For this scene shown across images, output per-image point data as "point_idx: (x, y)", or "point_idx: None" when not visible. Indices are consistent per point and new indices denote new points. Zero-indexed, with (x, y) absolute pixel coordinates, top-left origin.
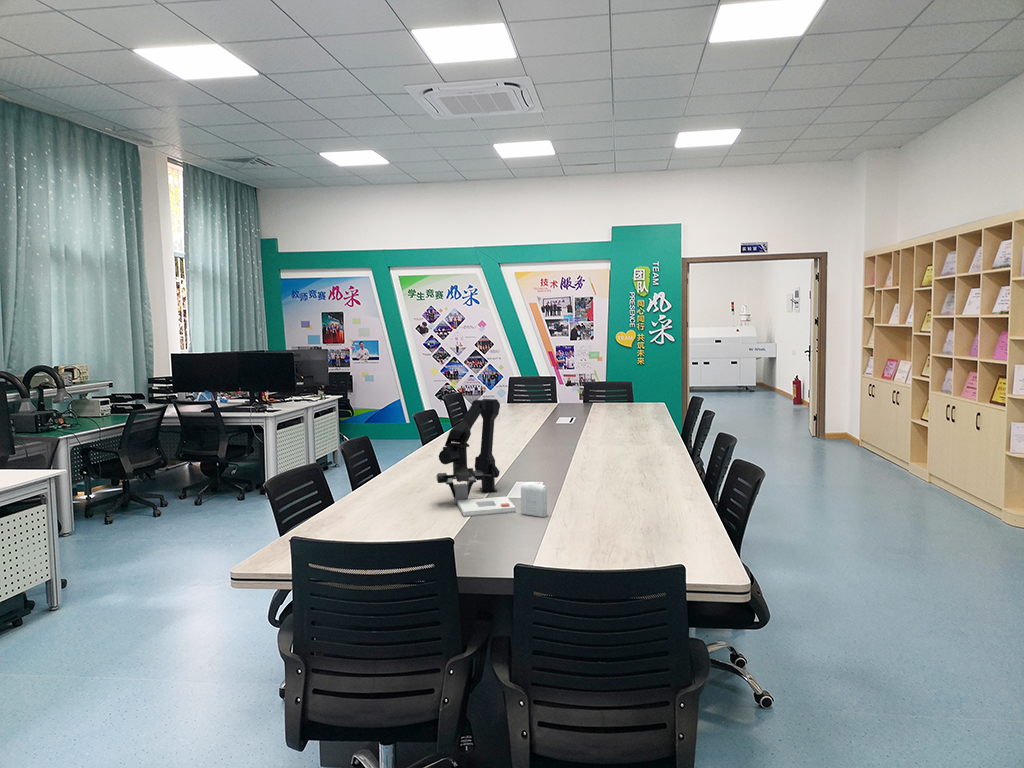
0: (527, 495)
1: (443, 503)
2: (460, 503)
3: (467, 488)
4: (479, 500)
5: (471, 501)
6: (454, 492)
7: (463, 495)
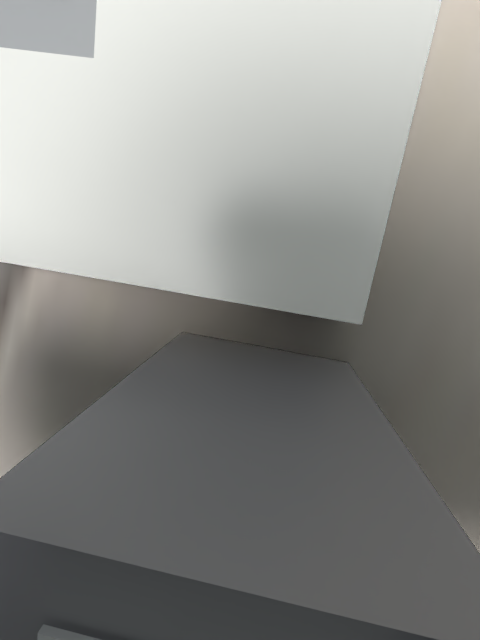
0: None
1: (476, 490)
2: (391, 85)
3: (32, 465)
4: (7, 147)
5: (151, 142)
6: None
7: (221, 392)
